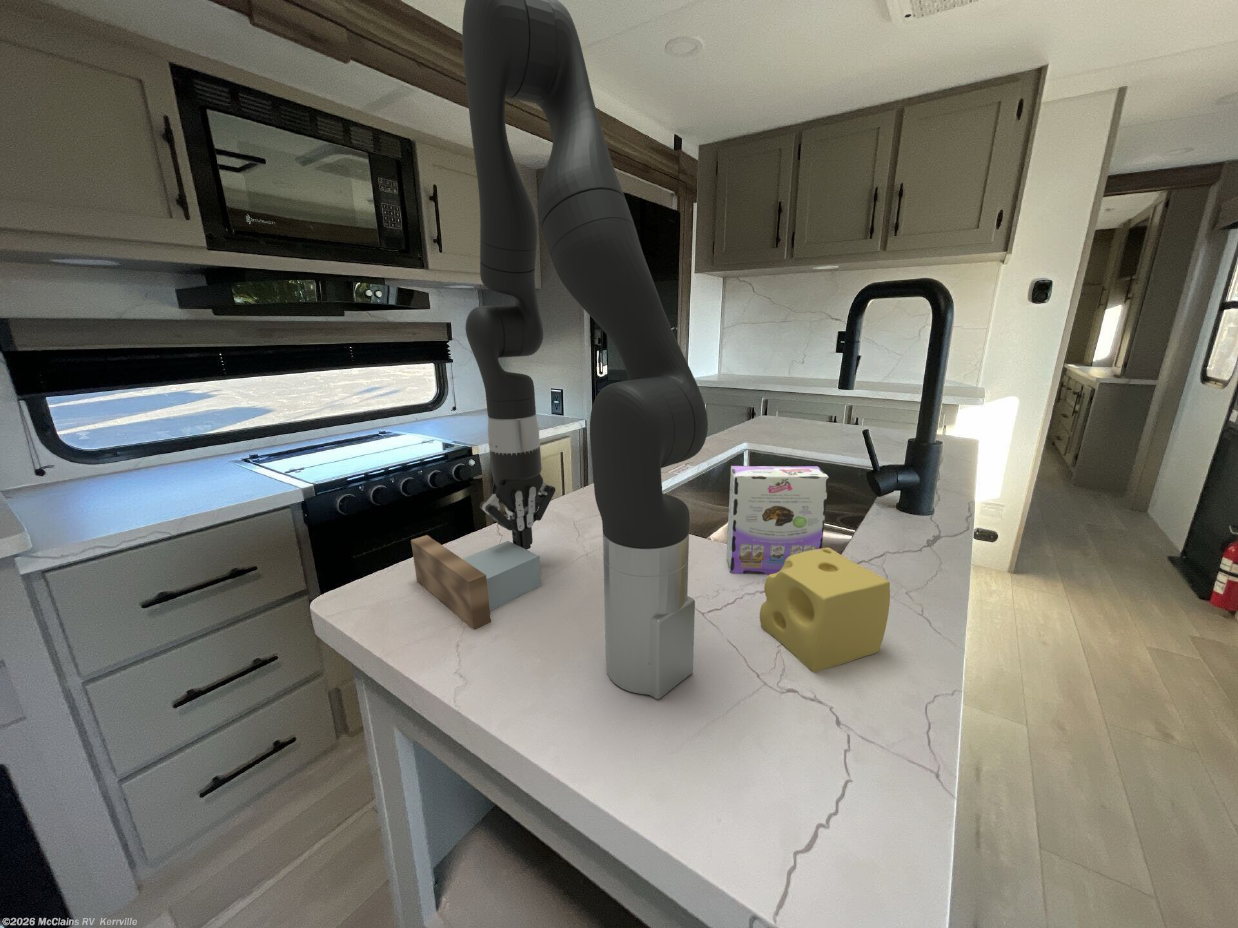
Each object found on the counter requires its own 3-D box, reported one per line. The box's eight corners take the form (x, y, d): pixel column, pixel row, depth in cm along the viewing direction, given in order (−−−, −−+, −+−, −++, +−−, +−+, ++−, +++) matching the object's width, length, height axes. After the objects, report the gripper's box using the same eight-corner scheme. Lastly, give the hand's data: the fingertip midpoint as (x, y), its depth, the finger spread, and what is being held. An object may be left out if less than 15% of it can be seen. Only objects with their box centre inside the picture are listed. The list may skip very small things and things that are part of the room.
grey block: (541, 585, 76) (539, 555, 74) (484, 613, 69) (481, 581, 67) (510, 568, 81) (507, 540, 80) (454, 593, 74) (451, 563, 73)
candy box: (809, 559, 83) (819, 464, 78) (819, 577, 77) (831, 476, 72) (725, 556, 84) (730, 463, 79) (729, 574, 78) (734, 474, 74)
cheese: (757, 626, 65) (762, 557, 62) (823, 609, 69) (831, 543, 66) (814, 678, 56) (822, 599, 53) (886, 654, 59) (898, 580, 56)
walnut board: (490, 621, 67) (486, 574, 65) (473, 629, 65) (468, 581, 63) (432, 575, 79) (426, 535, 77) (416, 580, 78) (410, 539, 76)
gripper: (488, 458, 68) (499, 571, 73) (564, 440, 77) (570, 542, 82) (462, 448, 73) (474, 554, 78) (536, 432, 82) (543, 529, 87)
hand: (523, 548), depth 80 cm, fingers closed
